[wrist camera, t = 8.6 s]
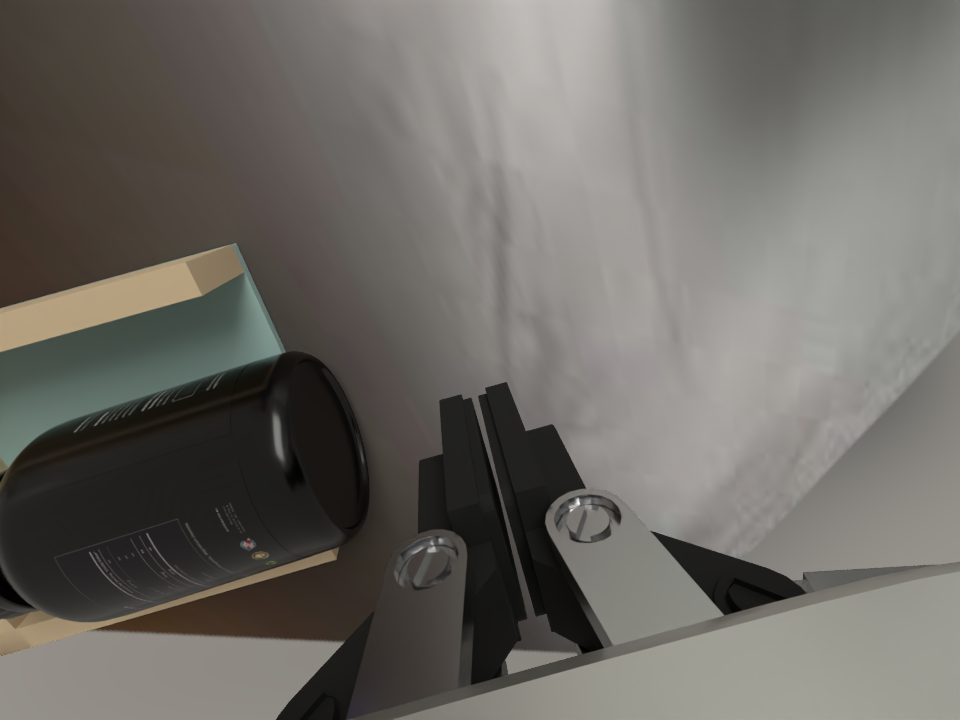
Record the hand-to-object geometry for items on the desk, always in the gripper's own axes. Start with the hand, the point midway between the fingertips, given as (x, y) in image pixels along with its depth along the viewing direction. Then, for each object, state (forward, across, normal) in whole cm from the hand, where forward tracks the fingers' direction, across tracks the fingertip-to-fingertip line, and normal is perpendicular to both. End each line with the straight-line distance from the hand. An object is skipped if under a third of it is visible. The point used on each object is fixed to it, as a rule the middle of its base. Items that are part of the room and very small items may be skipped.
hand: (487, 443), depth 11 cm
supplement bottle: (+4, +5, +1) cm, 7 cm away
